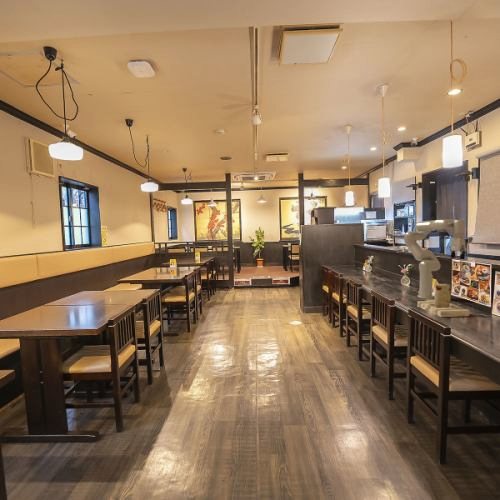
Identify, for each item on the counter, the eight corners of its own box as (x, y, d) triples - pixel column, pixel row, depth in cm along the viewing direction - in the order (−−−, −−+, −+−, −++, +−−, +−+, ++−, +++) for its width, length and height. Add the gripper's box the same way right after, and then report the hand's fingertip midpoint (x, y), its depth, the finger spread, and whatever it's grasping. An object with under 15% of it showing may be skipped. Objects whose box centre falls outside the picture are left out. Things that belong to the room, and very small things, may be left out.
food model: (435, 311, 217) (436, 284, 216) (432, 309, 224) (433, 282, 222) (450, 312, 214) (452, 284, 212) (448, 310, 221) (449, 283, 219)
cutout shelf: (417, 306, 231) (417, 301, 231) (442, 305, 232) (442, 300, 232) (440, 316, 205) (440, 311, 205) (469, 316, 206) (469, 310, 206)
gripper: (446, 235, 238) (445, 257, 240) (462, 236, 221) (460, 260, 223) (455, 235, 238) (454, 257, 240) (472, 236, 221) (470, 259, 223)
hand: (457, 258), depth 231 cm, fingers open, 9 cm apart
